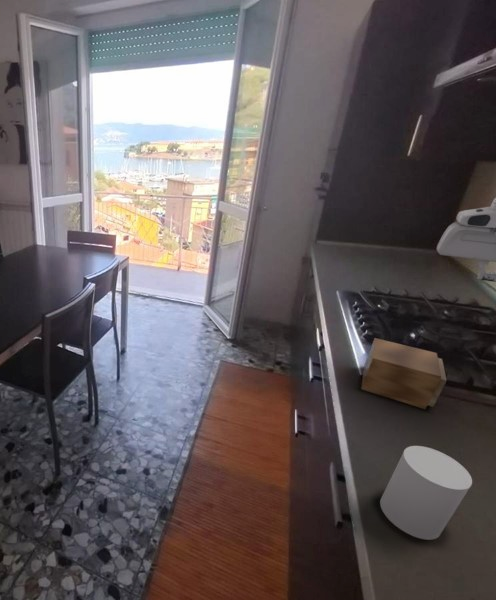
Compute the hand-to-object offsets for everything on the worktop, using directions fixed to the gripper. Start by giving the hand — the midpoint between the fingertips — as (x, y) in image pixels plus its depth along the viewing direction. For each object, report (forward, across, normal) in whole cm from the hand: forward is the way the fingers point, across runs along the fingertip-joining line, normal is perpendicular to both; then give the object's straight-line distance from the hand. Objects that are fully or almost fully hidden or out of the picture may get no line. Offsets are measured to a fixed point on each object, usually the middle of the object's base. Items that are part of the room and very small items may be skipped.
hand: (486, 280), depth 80 cm
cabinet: (+29, +9, +8) cm, 32 cm away
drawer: (+28, +7, +8) cm, 30 cm away
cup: (+29, +7, +49) cm, 57 cm away
